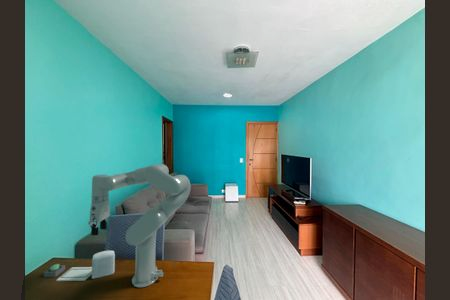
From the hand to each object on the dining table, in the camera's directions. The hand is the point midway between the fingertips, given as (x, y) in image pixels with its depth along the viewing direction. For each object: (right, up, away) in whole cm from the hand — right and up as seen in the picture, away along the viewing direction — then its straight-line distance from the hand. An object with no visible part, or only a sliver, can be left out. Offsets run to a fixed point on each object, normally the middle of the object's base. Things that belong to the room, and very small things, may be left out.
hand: (99, 231), depth 97 cm
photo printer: (+2, -23, 0) cm, 23 cm away
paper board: (-11, -23, 0) cm, 26 cm away
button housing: (-24, -23, +1) cm, 33 cm away
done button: (-24, -21, +1) cm, 32 cm away
